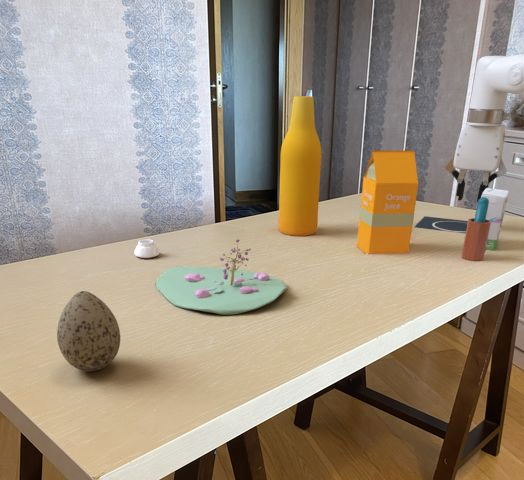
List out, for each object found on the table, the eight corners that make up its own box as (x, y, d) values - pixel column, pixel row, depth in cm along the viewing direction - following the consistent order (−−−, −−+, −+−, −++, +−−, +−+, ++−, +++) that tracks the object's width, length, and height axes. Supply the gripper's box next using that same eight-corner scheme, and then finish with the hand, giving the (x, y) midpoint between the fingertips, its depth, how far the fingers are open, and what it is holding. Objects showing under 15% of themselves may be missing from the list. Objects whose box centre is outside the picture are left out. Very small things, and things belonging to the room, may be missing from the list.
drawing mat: (496, 225, 134) (497, 223, 134) (490, 240, 121) (491, 238, 121) (424, 217, 141) (424, 215, 141) (411, 230, 128) (411, 228, 128)
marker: (478, 257, 107) (490, 196, 102) (476, 259, 106) (489, 198, 100) (467, 255, 108) (479, 195, 103) (466, 258, 107) (478, 197, 101)
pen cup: (483, 258, 108) (492, 219, 105) (481, 264, 105) (490, 224, 101) (462, 256, 110) (469, 217, 106) (459, 261, 106) (467, 221, 103)
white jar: (145, 250, 110) (129, 256, 106) (144, 236, 109) (127, 242, 105) (164, 254, 108) (149, 260, 104) (163, 240, 106) (148, 246, 103)
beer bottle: (270, 231, 126) (273, 95, 113) (294, 224, 132) (300, 95, 119) (300, 238, 120) (307, 97, 107) (324, 231, 126) (334, 96, 113)
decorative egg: (57, 362, 66) (43, 287, 62) (114, 350, 69) (104, 277, 65) (70, 388, 61) (56, 308, 56) (131, 373, 64) (122, 296, 59)
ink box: (494, 252, 112) (507, 196, 107) (470, 249, 114) (481, 193, 109) (498, 243, 119) (510, 189, 114) (475, 240, 121) (485, 187, 116)
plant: (118, 293, 88) (112, 239, 84) (193, 261, 104) (191, 215, 100) (246, 326, 77) (246, 266, 73) (308, 285, 93) (311, 234, 89)
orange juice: (408, 255, 110) (423, 152, 101) (368, 256, 109) (379, 153, 100) (394, 244, 117) (407, 148, 108) (356, 245, 115) (365, 148, 106)
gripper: (525, 118, 120) (507, 201, 128) (449, 115, 126) (437, 194, 134) (524, 120, 114) (505, 207, 122) (444, 117, 120) (431, 199, 128)
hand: (469, 199), depth 128 cm, fingers open, 3 cm apart
